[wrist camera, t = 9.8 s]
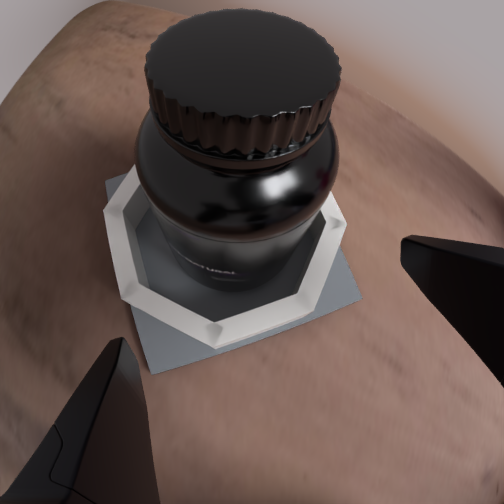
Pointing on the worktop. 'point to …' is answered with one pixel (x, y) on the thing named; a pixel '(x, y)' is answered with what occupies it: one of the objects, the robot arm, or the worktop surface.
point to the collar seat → (213, 301)
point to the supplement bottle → (238, 142)
